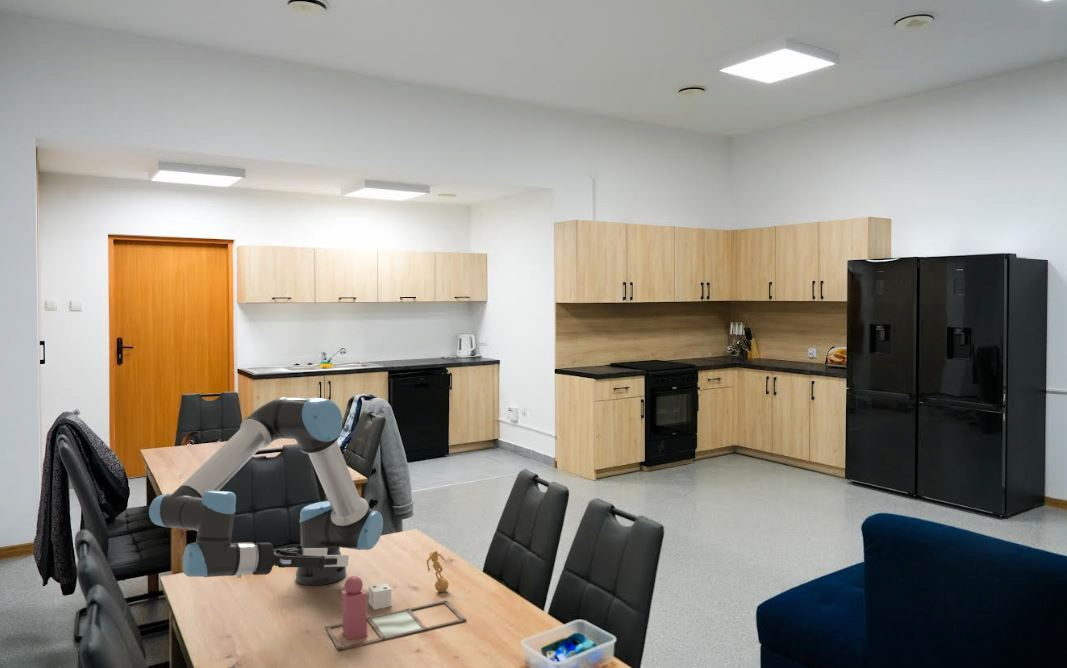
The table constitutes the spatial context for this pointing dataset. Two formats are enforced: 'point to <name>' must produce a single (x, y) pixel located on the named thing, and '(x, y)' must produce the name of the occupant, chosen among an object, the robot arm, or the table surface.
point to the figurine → (441, 583)
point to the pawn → (354, 609)
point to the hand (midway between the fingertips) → (337, 556)
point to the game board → (396, 625)
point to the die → (380, 596)
